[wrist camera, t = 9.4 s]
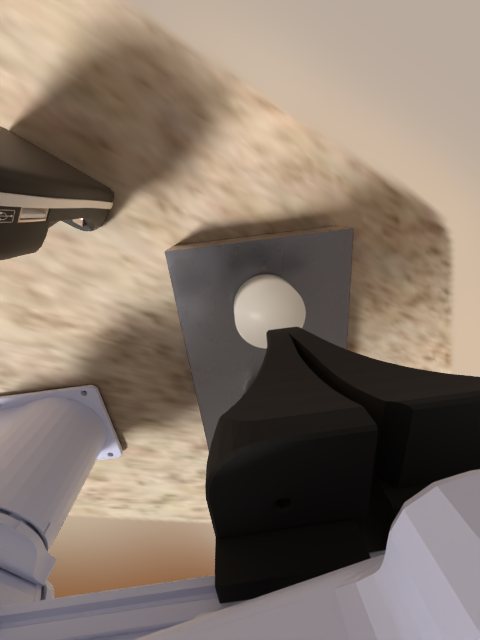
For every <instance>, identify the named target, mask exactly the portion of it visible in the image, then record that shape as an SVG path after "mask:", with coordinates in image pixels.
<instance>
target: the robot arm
mask: <svg viewBox="0 0 480 640" xmlns="http://www.w3.org/2000/svg"><path fill="white" fill-rule="evenodd" d="M266 337H267V350H266V354H265V357H264V360H263V363H262V366H261V368H260V370H259V372H258V374H257V376H256V378H255V379H254V381H253V383H252V384H251V386H250V387H249V388H248V390H247V391H246V392H245V393H244V395H243V396H242V397H241V398H240V399H239V401H238V402H237V403H236V404H235V405H233V406H232V407H231V408H230V409H229V410H228V411H227V412H225V413H224V414H223V415H222V416H221V417H220V418H219V420H218V423H217V426H216V429H215V432H214V435H213V439H212V442H211V446H210V451H209V456H208V461H207V470H206V500H207V504H208V508H209V512H210V516H211V520H212V524H213V528H214V531H215V536H216V552H215V575H212V576H205V577H198V578H191V579H185V580H178V581H171V582H164V583H157V584H150V585H143V586H136V587H129V588H123V589H116V590H109V591H102V592H95V593H88V594H82V595H74V596H68V597H60V598H54V588H53V586H52V585H51V583H50V582H48V581H47V579H48V577H49V575H50V572H51V571H52V568H53V566H54V564H55V562H56V558H55V557H54V556H52V555H51V554H49V553H48V552H49V550H50V548H51V546H52V544H53V542H54V541H55V539H56V537H57V535H58V533H59V531H60V529H61V527H62V525H63V523H64V521H65V519H66V517H67V515H68V513H69V512H70V510H71V508H72V506H73V504H74V502H75V500H76V498H77V496H78V494H79V492H80V490H81V488H82V486H83V484H84V483H85V481H86V479H87V477H88V475H89V473H90V471H91V469H92V467H93V465H94V463H95V461H96V460H101V459H109V458H116V457H120V456H121V454H122V452H123V450H122V447H121V445H120V442H119V440H118V437H117V435H116V432H115V430H114V427H113V425H112V422H111V420H110V417H109V415H108V412H107V410H106V407H105V405H104V402H103V400H102V398H101V395H100V393H99V390H98V388H97V387H96V386H94V385H85V386H78V387H70V388H62V389H54V390H47V391H39V392H31V393H24V394H16V395H8V396H1V397H0V640H480V377H473V376H464V375H454V374H445V373H439V372H432V371H426V370H420V369H414V368H409V367H404V366H400V365H396V364H391V363H387V362H383V361H379V360H376V359H372V358H369V357H366V356H363V355H360V354H357V353H354V352H351V351H349V350H346V349H344V348H342V347H339V346H337V345H335V344H332V343H330V342H328V341H326V340H324V339H322V338H320V337H318V336H316V335H314V334H312V333H310V332H308V331H306V330H304V329H302V328H300V327H289V328H281V329H274V330H268V331H267V333H266ZM84 391H86V392H87V393H85V392H84Z"/></svg>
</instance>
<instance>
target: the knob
mask: <svg viewBox="0 0 480 640" xmlns="http://www.w3.org/2000/svg"><path fill="white" fill-rule="evenodd" d="M233 306H234V317H235V324H236V328H237V330H238V332H239V334H240V335H241V337H242V338H243V339H244V340H245V341H247V342H248V343H249V344H251V345H253V346H255V347H259V348H265V349H267V337H266V333H267V331H268V330H274V329H281V328H289V327H300V328H302V327H303V325H304V322H305V316H306V310H305V305H304V302H303V300H302V298H301V296H300V295H299V294H298V292H297V291H296V290H295V289H294V288H293V287H292V286H291V285H290V284H289V283H288V282H287V281H286V280H284V279H283V278H281V277H279V276H276V275H272V274H262V275H257V276H254V277H252V278H250V279H249V280H247V281H246V282H244V283H243V284H242V285H241V287H240V288H239V289H238V291H237V293H236V295H235V298H234V305H233Z"/></svg>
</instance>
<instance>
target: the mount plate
mask: <svg viewBox="0 0 480 640" xmlns="http://www.w3.org/2000/svg"><path fill="white" fill-rule="evenodd" d="M352 246H353V228H348V227H339V226H328V227H320V228H312V229H304V230H296V231H288V232H280V233H272V234H264V235H255V236H247V237H239V238H231V239H223V240H215V241H207V242H199V243H191V244H183V245H175V246H173V247H171V248H169V249H168V250H166V251H165V255H166V260H167V264H168V269H169V273H170V278H171V282H172V287H173V291H174V296H175V300H176V305H177V309H178V314H179V318H180V323H181V327H182V332H183V336H184V341H185V345H186V350H187V354H188V359H189V363H190V368H191V373H192V377H193V382H194V386H195V391H196V395H197V400H198V404H199V409H200V413H201V418H202V422H203V427H204V431H205V436H206V440H207V445H208V449H209V451H210V446H211V442H212V439H213V435H214V432H215V429H216V426H217V423H218V420H219V418H220V417H221V416H222V415H223V414H224V413H225V412H227V411H228V410H229V409H230V408H231V407H232V406H233V405H235V404H236V403H237V402H238V401H239V399H240V398H241V397H242V396H243V395H244V393H245V392H246V391H247V390H248V388H249V387H250V386H251V384H252V383H253V381H254V379H255V378H256V376H257V374H258V372H259V370H260V368H261V366H262V363H263V360H264V357H265V354H266V350H267V349H265V348H259V347H255V346H253V345H251V344H249V343H248V342H247V341H245V340H244V339H243V338H242V337H241V335H240V334H239V332H238V330H237V328H236V324H235V317H234V306H233V305H234V298H235V295H236V293H237V291H238V289H239V288H240V287H241V285H242V284H243V283H244V282H246V281H247V280H249V279H250V278H252V277H254V276H257V275H262V274H272V275H276V276H279V277H281V278H283V279H284V280H286V281H287V282H288V283H289V284H290V285H291V286H292V287H293V288H294V289H295V290H296V291H297V292H298V294H299V295H300V296H301V298H302V300H303V302H304V305H305V310H306V316H305V322H304V325H303V327H302V329H304V330H306V331H308V332H310V333H312V334H314V335H316V336H318V337H320V338H322V339H324V340H326V341H328V342H330V343H332V344H335V345H337V346H339V347H342V348H344V349H346V350H347V336H348V318H349V300H350V282H351V264H352Z"/></svg>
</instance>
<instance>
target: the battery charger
mask: <svg viewBox="0 0 480 640" xmlns="http://www.w3.org/2000/svg"><path fill="white" fill-rule="evenodd" d="M113 198H114V193H113V191H112V190H111V189H109V188H108V187H106V186H105V185H103V184H101V183H99V182H98V181H96V180H94V179H92V178H91V177H89V176H87V175H86V174H84V173H82V172H80V171H79V170H77V169H75V168H73V167H72V166H70V165H68V164H67V163H65V162H63V161H61V160H60V159H58V158H56V157H54V156H53V155H51V154H49V153H47V152H46V151H44V150H42V149H40V148H39V147H37V146H35V145H33V144H32V143H30V142H28V141H26V140H25V139H23V138H21V137H19V136H18V135H16V134H14V133H12V132H11V131H9V130H7V129H5V128H3V127H0V260H5V259H10V258H13V257H17V256H21V255H25V254H30V253H34V252H36V251H37V250H38V249H39V248H40V247H41V246H42V244H43V242H44V239H45V237H46V234H47V231H48V228H49V227H51V226H52V225H54V224H55V223H57V222H58V221H63V222H65V223H67V224H69V225H71V226H73V227H75V228H77V229H80V230H82V231H93V230H95V229H97V228H98V227H100V226H101V225H102V223H103V222H104V220H105V219H106V217H107V214H108V212H109V209H111V208H112V206H113V202H112V201H113Z"/></svg>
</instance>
